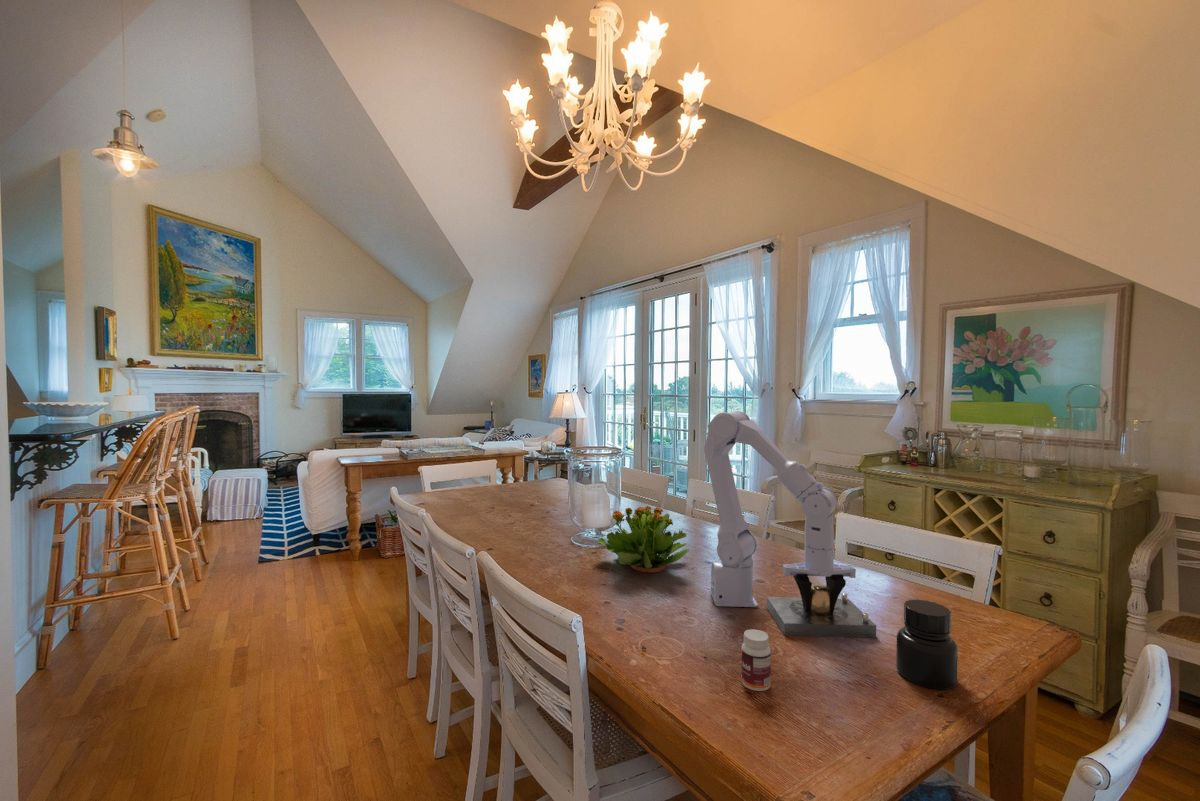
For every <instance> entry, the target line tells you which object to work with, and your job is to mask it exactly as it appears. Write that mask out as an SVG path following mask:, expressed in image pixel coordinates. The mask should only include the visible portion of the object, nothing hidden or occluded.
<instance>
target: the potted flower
mask: <svg viewBox="0 0 1200 801" xmlns="http://www.w3.org/2000/svg"><path fill="white" fill-rule="evenodd" d="M663 512H664V511H663V509H662V508H661V507H658V506H657V507H655V508H653V512H652V506H650V505H646V506H644V507H641V506H638V507H637V508H635V509H634V512H633V509H632V508H631V507H629V506H628V507H627V508H625V513H626V517H625V518H624V516H625V515H624V514H623V513H622V511H619V510H615V511H613V513H612V519H613V520H615V525H616V526H617V530H616V531H615V533H614V532H612V531H611V532H610V533H609V532H608V533H606V539H607V541H606V540H605V539H604V538H603V537H600V538H598V540H597V544H599V545H601V546H606V549H607V550H608V551H610V553H613V554H615V555H617V560H618V563H619V565H629V566H630V567H631V568H632V569H633V570H635V571H638V572H642V573H650V574H651V573H659V572H662V571H663V570H665V569H666V566H668V565H671V564H674V563H675V562H678V561H679V560H681V559H682V558H683V557H684V556H685V555H687V553H689V552H690V548H685V549H682V550H679V549H680V548H683V547H685V546H687V545H688V543H687V542H684V543H681V542H676V541H678V540H681V539H685V538H686V537H687V533H686V532H684V531H683V529H679V530H678V532H676V530H675V531H674V532H673V534H672V532H671V531H667V529H668V528H669V526H670V525H672V526H673V525H674V523H673V522H674V521H673V518H670V514H669V513H665V514H664V515H663ZM631 515H632V517H631ZM625 521H626V522H627V524H628V526H629V528H630V531H631V532H628V531H627V530H626V529H625V528H624V527H622V525H621V522H625ZM666 531H667V532H666ZM675 542H676V543H675ZM677 550H679V551H678V552H676V553H674V552H675V551H677ZM672 553H674V554H672Z"/></svg>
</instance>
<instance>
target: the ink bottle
mask: <svg viewBox="0 0 1200 801" xmlns="http://www.w3.org/2000/svg"><path fill="white" fill-rule="evenodd" d="M903 624H904V626H902V627H901V628H899V629H898V631H897V633H896V651H895V652H896V661H895V666H896V670H897V672H898V673H899V674H900V675H901V676H902V677H904V678H905V679H907V680H908V681H911V682H912V683H914V684H917V685H919V686H921V687H924V688H928V689H933V690H946V689H951V688H954V687H955V686H956V685H957V684H958V676H959V675H958V674H959V671H958V668H959V667H958V663H959V647H958V644H957V642H956V641H955V640H954V638H952V637H951V631H952V630H951V629H952V611H951V610H950V609H949V608H948V607H946V606H945V605H942V604H940V603H937V602H934V601H930V600H922V599H908V600H905V602H904V604H903Z"/></svg>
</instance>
